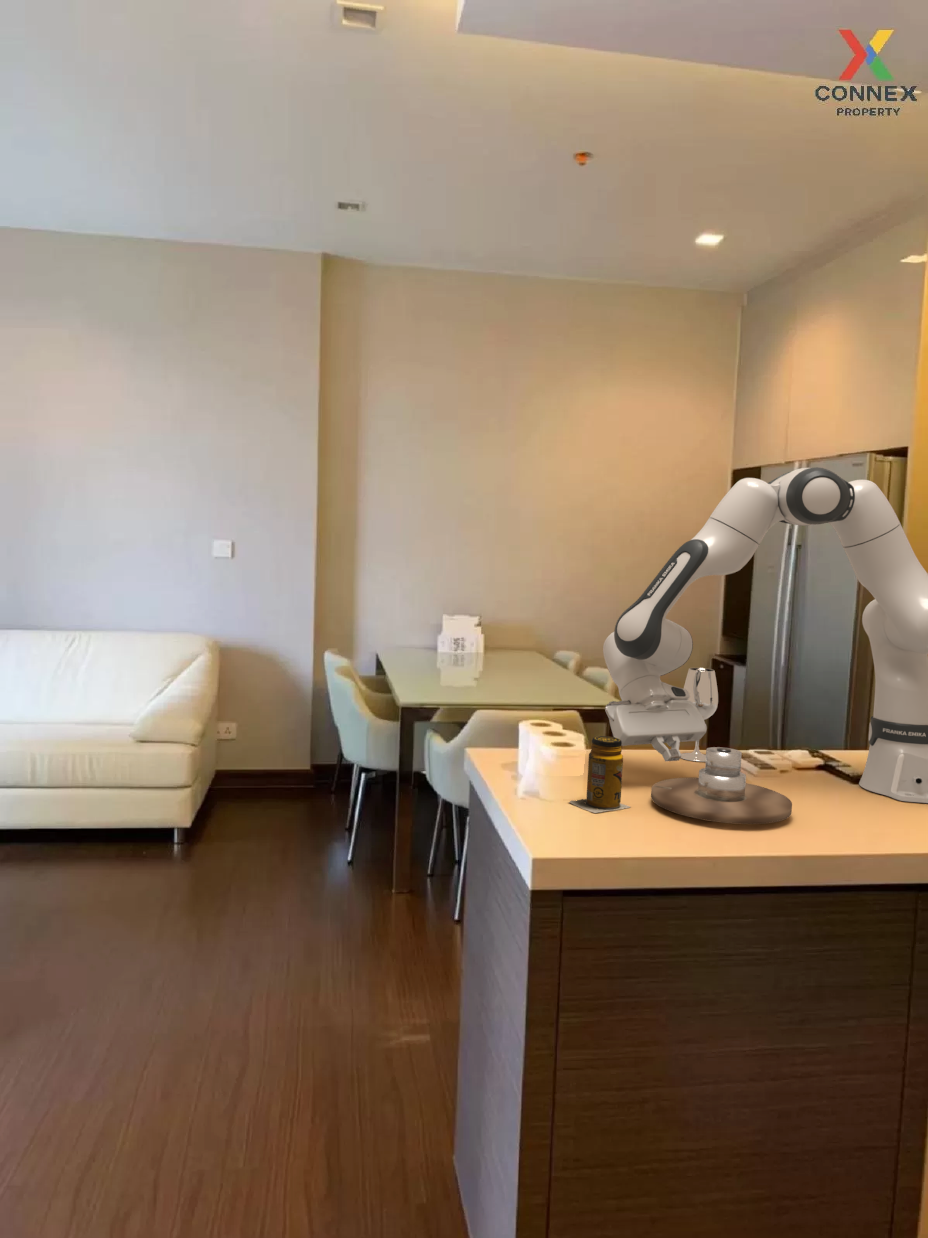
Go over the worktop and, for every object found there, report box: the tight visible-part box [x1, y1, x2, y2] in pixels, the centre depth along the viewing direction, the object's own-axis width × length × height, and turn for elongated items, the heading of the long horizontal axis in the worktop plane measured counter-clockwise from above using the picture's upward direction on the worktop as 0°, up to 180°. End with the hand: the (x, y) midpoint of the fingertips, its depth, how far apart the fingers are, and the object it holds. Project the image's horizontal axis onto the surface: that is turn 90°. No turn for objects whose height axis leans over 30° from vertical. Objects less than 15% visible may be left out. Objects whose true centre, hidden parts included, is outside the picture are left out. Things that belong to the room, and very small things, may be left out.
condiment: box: [569, 735, 631, 814], centre depth 156 cm, size 7×8×12 cm
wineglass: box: [680, 667, 719, 763], centre depth 196 cm, size 8×8×20 cm
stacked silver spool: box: [698, 746, 747, 802], centre depth 156 cm, size 8×8×8 cm
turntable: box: [650, 777, 793, 825], centre depth 157 cm, size 24×24×2 cm
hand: (673, 759), depth 169 cm, fingers closed
